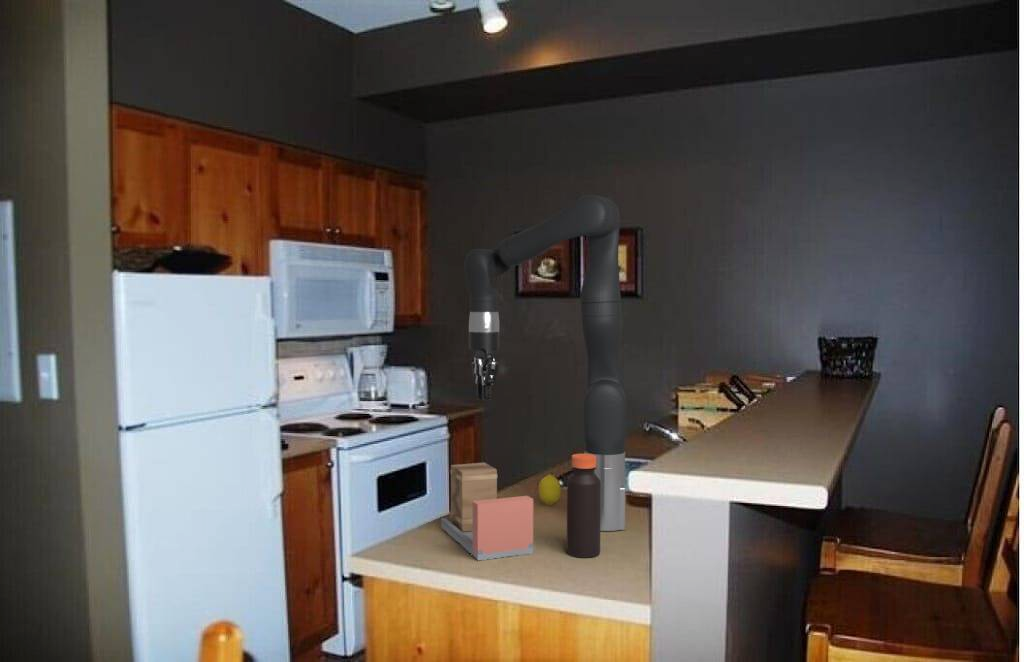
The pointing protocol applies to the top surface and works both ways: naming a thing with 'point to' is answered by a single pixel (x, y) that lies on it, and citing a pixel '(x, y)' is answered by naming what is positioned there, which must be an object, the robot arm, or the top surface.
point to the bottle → (583, 508)
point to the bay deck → (467, 543)
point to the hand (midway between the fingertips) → (484, 399)
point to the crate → (470, 491)
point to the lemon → (549, 490)
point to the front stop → (502, 524)
